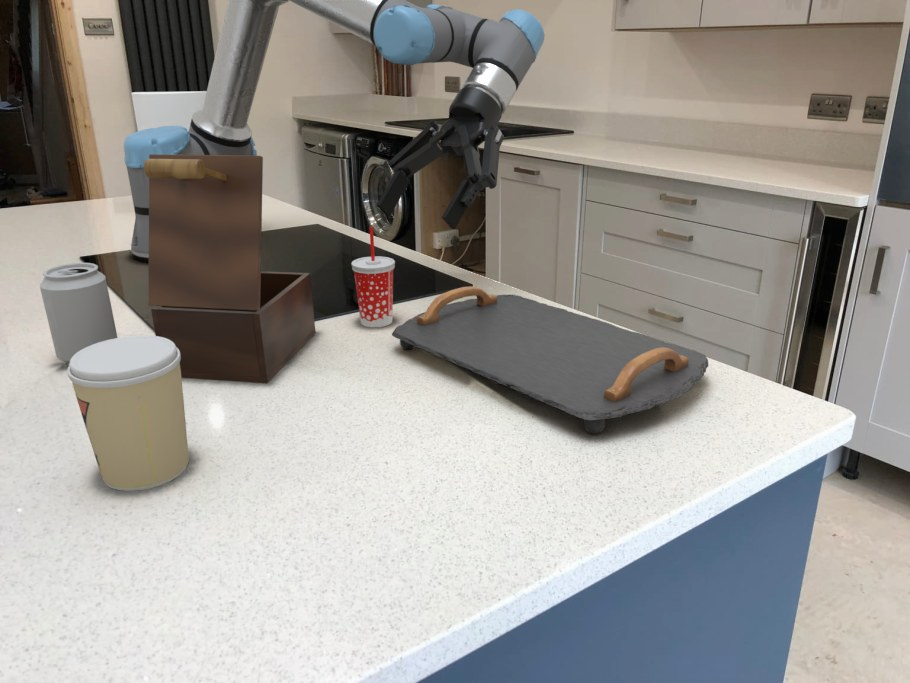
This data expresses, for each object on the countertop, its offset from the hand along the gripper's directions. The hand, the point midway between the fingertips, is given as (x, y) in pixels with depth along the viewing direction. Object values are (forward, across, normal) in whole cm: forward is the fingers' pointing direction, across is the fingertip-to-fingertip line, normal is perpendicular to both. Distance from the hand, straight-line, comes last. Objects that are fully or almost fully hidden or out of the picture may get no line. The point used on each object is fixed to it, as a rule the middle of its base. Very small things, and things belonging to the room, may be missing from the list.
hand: (414, 217), depth 107 cm
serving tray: (+13, +27, +7) cm, 31 cm away
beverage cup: (+16, 0, +4) cm, 16 cm away
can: (+39, -19, -19) cm, 48 cm away
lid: (+20, -1, -25) cm, 32 cm away
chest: (+29, -4, -10) cm, 31 cm away
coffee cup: (+45, +13, -25) cm, 53 cm away
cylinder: (0, -94, +20) cm, 96 cm away
